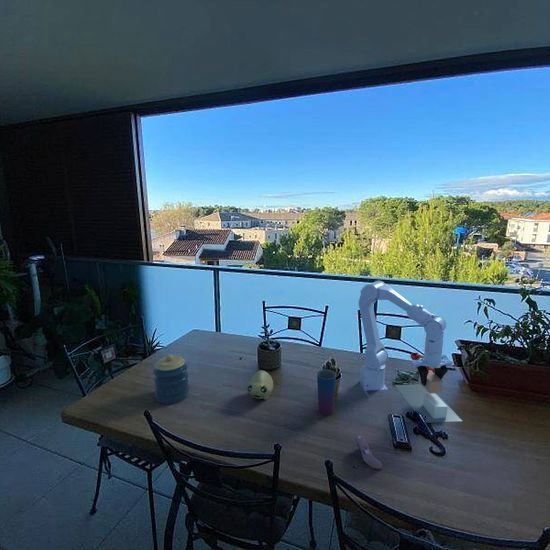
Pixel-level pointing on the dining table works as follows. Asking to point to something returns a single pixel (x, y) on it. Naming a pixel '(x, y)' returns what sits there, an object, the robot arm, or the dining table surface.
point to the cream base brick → (434, 406)
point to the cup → (326, 391)
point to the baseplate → (415, 400)
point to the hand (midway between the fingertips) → (430, 384)
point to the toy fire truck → (417, 356)
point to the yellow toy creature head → (260, 385)
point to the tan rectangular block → (432, 383)
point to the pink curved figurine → (367, 452)
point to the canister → (171, 379)
